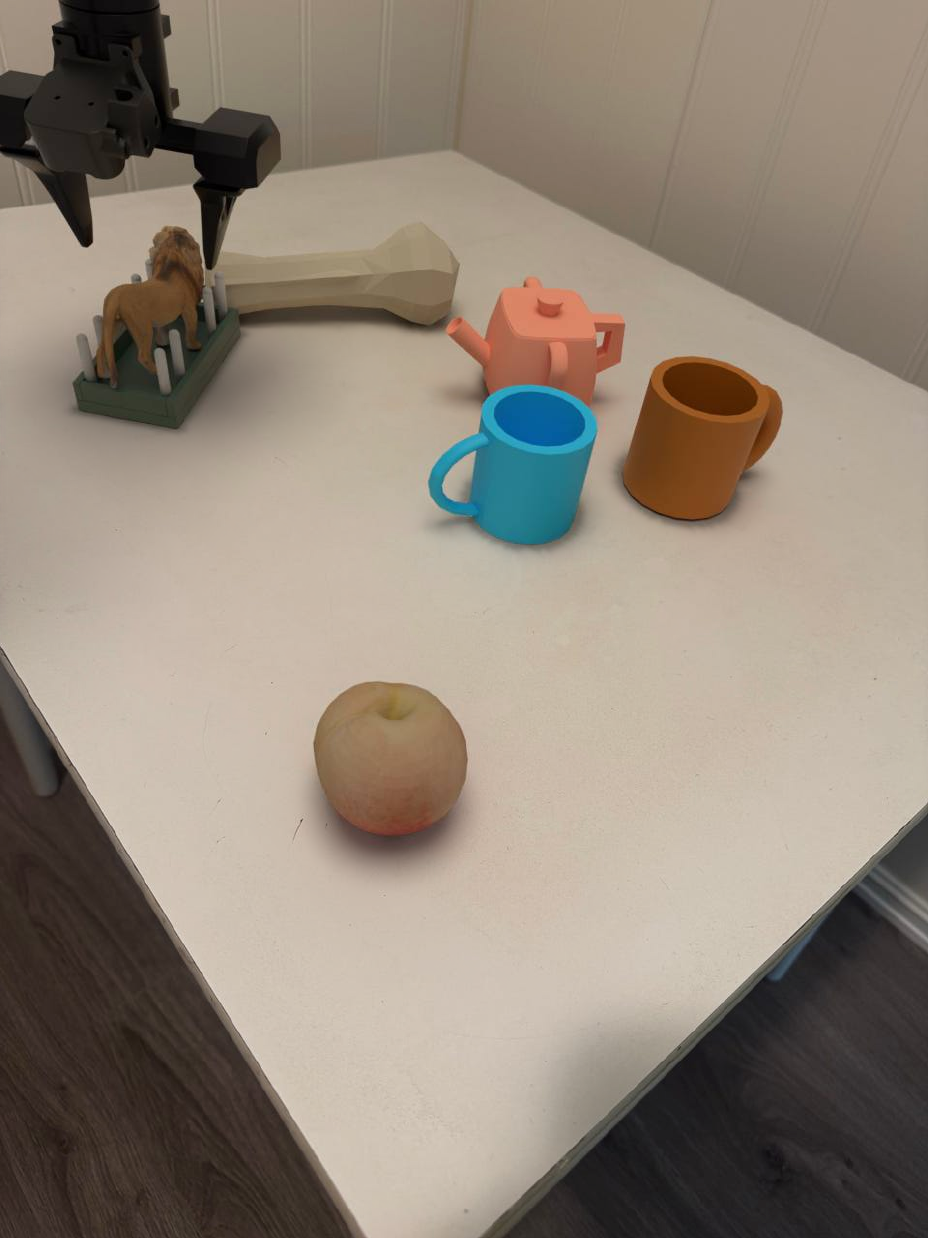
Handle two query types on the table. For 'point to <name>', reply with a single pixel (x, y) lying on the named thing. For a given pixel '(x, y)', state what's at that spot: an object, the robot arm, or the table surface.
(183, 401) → the drying rack
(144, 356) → the lion figurine
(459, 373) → the table surface
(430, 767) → the fruit
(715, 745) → the table surface
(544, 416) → the mug
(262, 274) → the faceted club
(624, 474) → the mug
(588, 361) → the teapot
